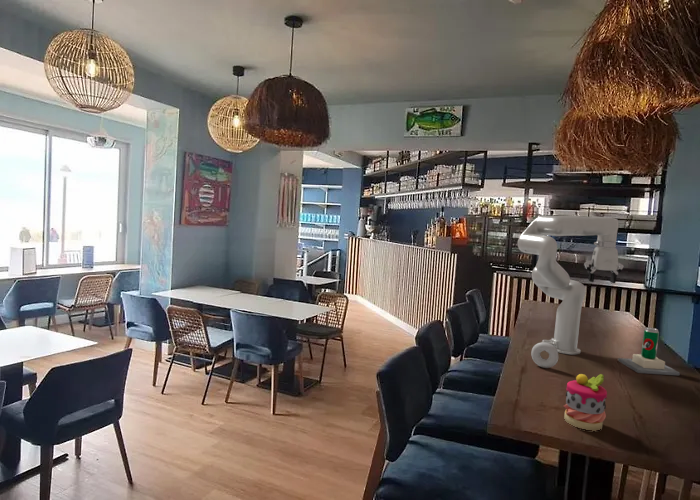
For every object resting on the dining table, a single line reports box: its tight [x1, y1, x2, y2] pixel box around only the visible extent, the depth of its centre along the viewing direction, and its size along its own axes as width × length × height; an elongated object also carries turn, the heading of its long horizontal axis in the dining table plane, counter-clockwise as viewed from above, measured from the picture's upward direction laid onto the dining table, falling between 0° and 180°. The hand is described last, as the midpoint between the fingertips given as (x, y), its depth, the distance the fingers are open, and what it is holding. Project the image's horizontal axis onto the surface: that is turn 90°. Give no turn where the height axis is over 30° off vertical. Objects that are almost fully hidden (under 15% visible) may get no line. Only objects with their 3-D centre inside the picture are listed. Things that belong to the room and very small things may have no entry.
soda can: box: [640, 327, 660, 359], centre depth 183 cm, size 5×5×12 cm
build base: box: [617, 353, 681, 376], centre depth 184 cm, size 16×14×4 cm
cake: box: [563, 373, 608, 432], centre depth 130 cm, size 10×11×15 cm
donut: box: [530, 341, 560, 369], centre depth 177 cm, size 10×4×10 cm, turn 55°
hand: (601, 282), depth 208 cm, fingers open, 9 cm apart
